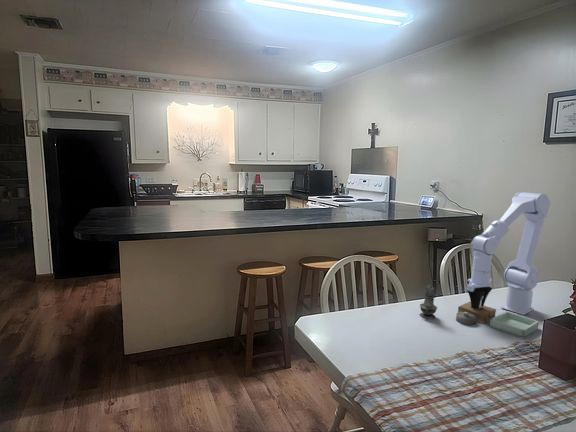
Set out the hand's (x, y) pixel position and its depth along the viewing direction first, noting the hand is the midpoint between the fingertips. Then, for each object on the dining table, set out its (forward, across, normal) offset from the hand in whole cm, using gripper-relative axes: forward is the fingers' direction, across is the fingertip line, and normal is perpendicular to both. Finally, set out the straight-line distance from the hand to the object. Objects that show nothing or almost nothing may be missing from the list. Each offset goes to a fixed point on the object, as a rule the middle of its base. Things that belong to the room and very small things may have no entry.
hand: (477, 306), depth 133 cm
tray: (+3, -1, +12) cm, 13 cm away
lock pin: (+3, 0, 0) cm, 3 cm away
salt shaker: (+4, +15, -10) cm, 18 cm away
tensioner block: (+3, +3, 0) cm, 5 cm away
